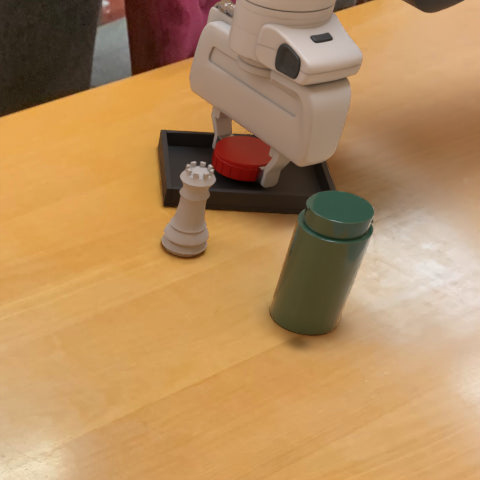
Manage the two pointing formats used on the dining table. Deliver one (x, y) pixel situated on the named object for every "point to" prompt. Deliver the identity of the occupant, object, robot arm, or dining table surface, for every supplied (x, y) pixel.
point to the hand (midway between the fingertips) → (243, 167)
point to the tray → (235, 191)
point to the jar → (322, 262)
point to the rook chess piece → (190, 213)
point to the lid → (240, 157)
